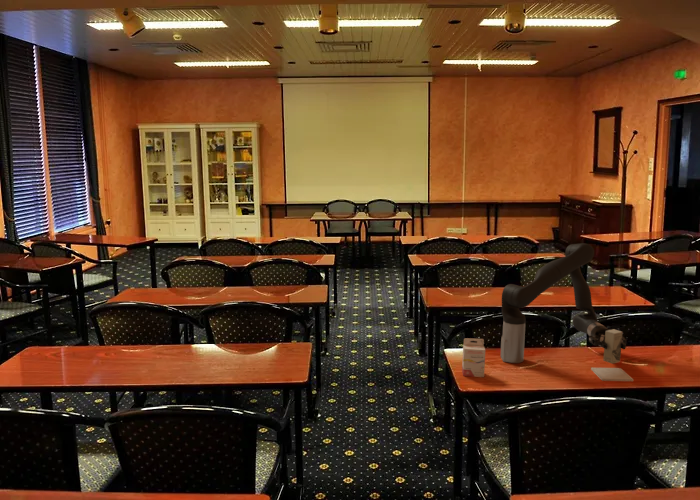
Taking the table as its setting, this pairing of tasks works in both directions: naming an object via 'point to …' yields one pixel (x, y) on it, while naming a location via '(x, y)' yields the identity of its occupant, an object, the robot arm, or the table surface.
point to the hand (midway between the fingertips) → (615, 346)
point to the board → (611, 374)
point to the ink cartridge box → (473, 358)
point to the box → (613, 346)
